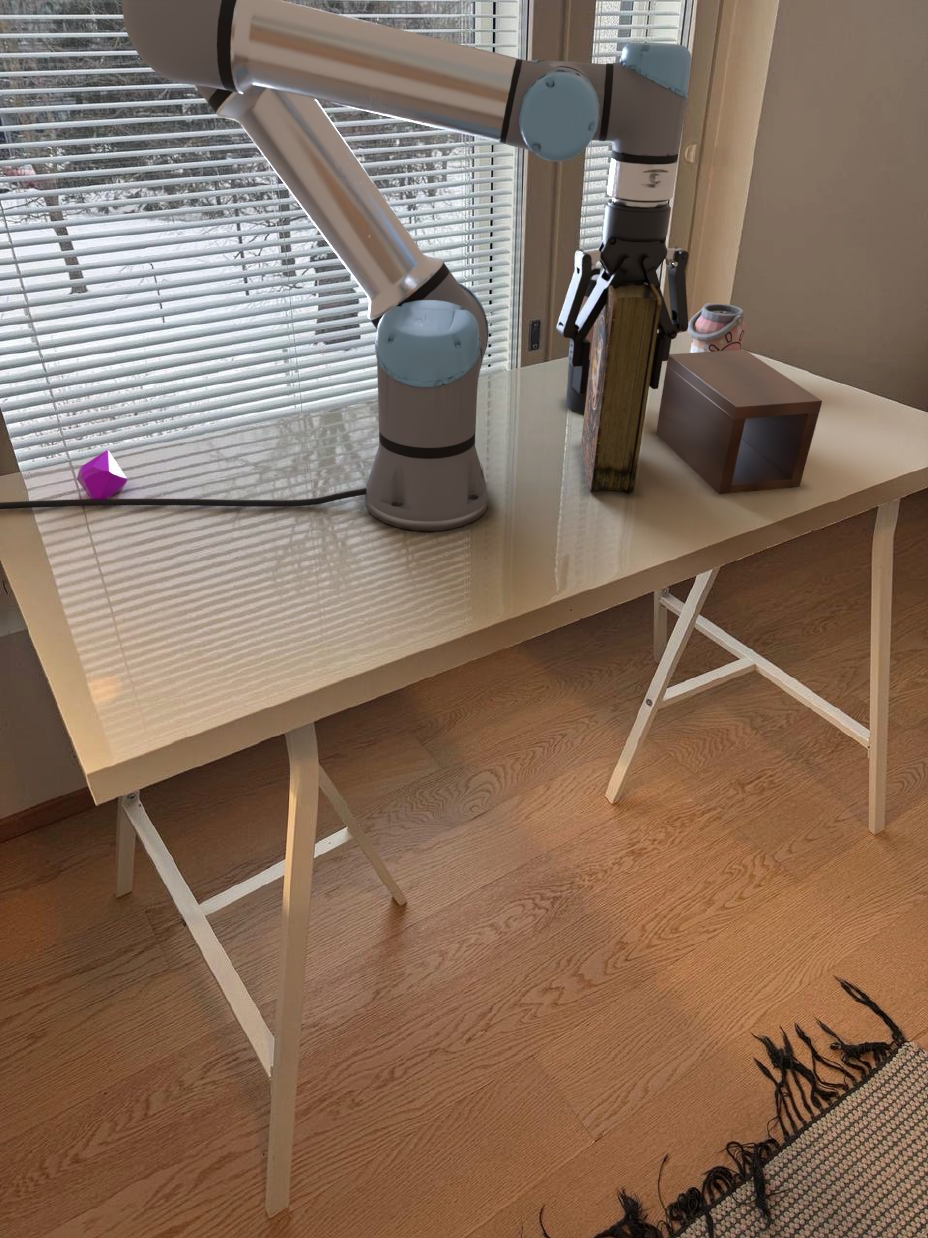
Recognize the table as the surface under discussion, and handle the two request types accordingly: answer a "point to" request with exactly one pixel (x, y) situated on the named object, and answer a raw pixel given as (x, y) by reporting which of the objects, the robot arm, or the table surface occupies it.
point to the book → (619, 385)
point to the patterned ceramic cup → (717, 328)
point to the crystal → (101, 477)
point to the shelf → (736, 420)
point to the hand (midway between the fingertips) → (615, 387)
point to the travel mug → (575, 399)
